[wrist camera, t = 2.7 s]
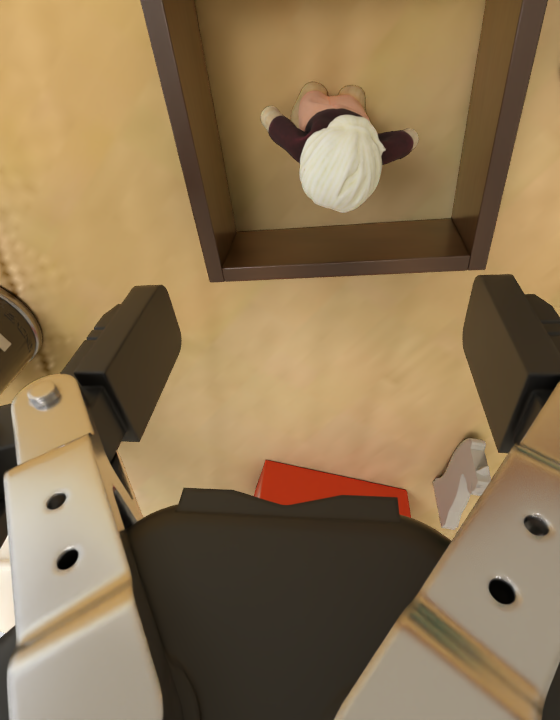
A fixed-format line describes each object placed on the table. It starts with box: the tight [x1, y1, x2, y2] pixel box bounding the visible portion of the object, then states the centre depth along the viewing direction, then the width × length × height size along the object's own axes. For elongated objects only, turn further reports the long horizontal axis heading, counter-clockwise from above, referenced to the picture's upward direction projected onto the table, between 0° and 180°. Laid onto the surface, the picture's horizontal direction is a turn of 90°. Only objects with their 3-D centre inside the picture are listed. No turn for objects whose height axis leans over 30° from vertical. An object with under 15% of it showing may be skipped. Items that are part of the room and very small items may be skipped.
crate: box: [140, 0, 548, 282], centre depth 23 cm, size 17×16×6 cm
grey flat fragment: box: [433, 438, 491, 530], centre depth 43 cm, size 6×1×10 cm
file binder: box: [254, 460, 411, 518], centre depth 40 cm, size 8×17×32 cm, turn 77°
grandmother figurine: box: [261, 82, 419, 213], centre depth 20 cm, size 8×4×13 cm, turn 95°
